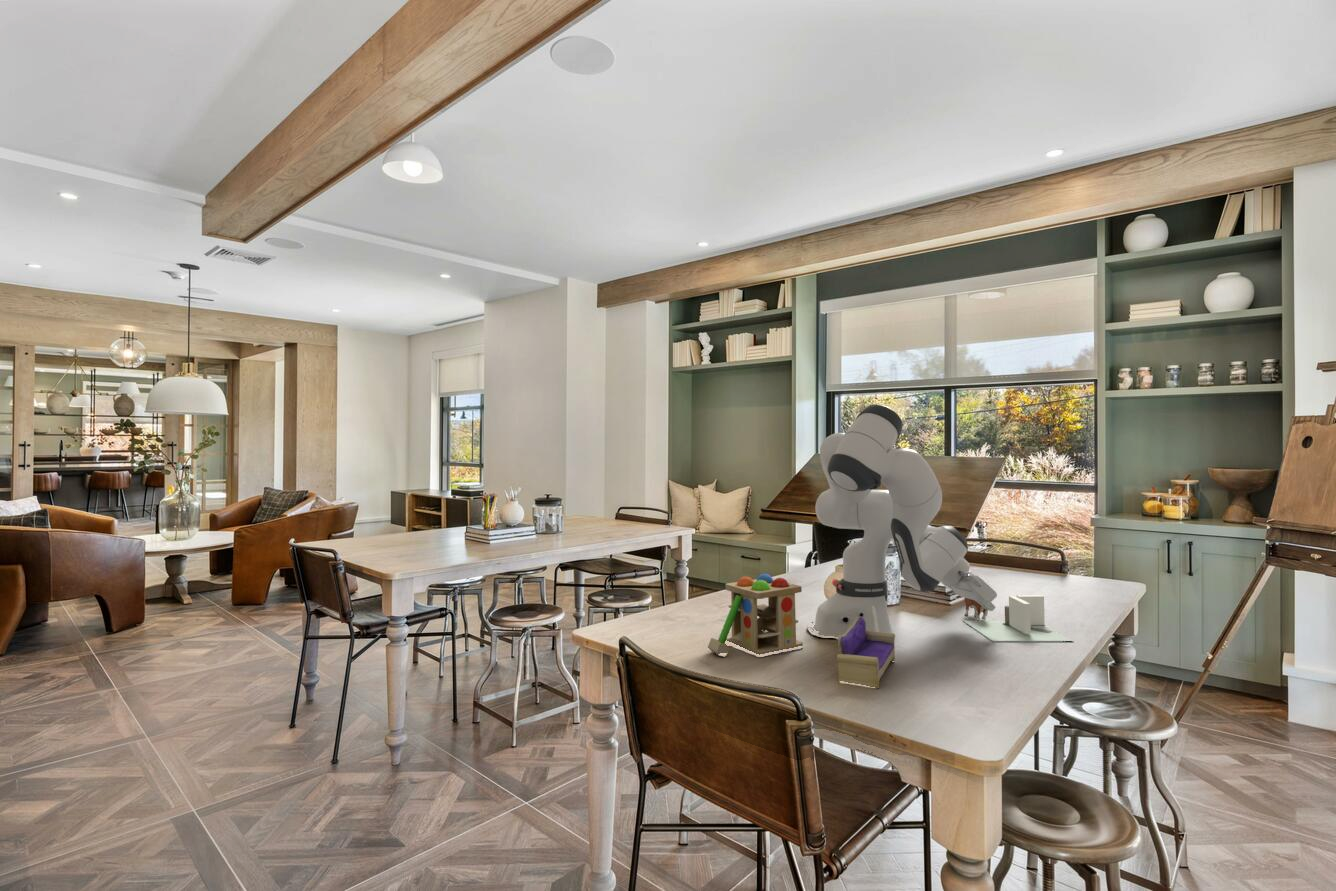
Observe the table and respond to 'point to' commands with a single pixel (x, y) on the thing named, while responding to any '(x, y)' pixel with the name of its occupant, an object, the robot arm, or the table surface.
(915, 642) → the table surface
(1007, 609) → the fixed rail
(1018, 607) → the white rectangular slab
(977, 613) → the bull figurine
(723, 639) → the pounding bench toy
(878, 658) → the toy sofa
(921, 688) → the table surface
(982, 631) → the mat
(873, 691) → the table surface
